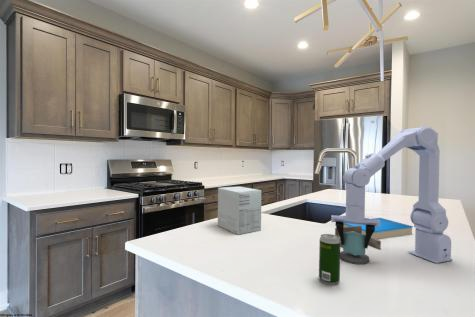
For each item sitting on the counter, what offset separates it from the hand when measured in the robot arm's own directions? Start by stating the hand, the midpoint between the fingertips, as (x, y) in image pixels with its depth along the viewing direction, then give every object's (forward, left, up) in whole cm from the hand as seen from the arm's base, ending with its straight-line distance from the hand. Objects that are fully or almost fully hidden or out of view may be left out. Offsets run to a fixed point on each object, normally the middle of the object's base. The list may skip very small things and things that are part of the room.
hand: (354, 245), depth 88 cm
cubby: (+9, -10, -4) cm, 14 cm away
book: (+22, -32, -5) cm, 39 cm away
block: (0, 0, -2) cm, 2 cm away
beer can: (-10, +18, -4) cm, 21 cm away
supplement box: (+45, +24, -4) cm, 51 cm away
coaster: (0, 0, -4) cm, 4 cm away
